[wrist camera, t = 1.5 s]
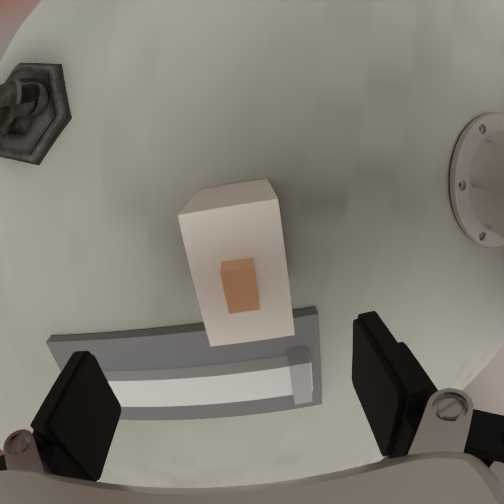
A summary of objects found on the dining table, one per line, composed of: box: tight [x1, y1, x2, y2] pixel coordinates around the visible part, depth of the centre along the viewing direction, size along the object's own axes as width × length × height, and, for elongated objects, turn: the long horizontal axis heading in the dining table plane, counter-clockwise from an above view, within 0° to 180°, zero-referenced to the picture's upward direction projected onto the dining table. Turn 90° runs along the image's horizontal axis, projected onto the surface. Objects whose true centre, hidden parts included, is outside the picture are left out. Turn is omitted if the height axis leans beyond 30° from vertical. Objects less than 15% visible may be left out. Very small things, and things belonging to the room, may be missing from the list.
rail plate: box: [46, 307, 322, 420], centre depth 27 cm, size 26×11×3 cm, turn 99°
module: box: [178, 179, 295, 347], centre depth 20 cm, size 5×8×9 cm, turn 9°
